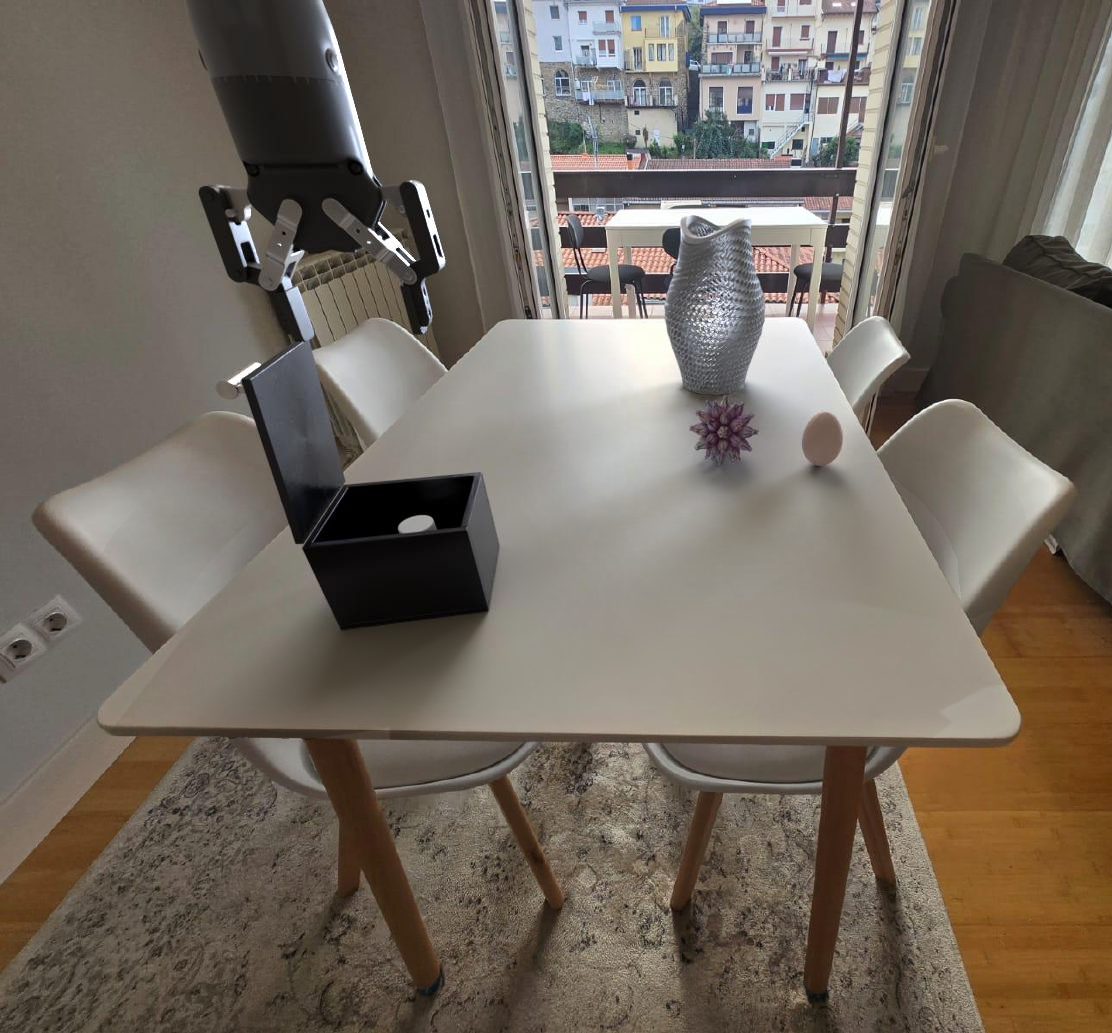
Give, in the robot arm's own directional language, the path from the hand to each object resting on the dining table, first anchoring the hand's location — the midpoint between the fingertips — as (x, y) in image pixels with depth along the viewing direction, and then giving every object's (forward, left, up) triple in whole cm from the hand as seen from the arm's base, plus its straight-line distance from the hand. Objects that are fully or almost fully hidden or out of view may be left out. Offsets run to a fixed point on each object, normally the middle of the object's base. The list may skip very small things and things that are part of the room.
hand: (363, 336), depth 44 cm
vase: (+77, -46, -34) cm, 96 cm away
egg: (+33, -55, -34) cm, 73 cm away
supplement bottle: (+12, +5, -34) cm, 36 cm away
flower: (+38, -39, -34) cm, 64 cm away
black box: (+12, +6, -34) cm, 37 cm away
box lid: (+12, +13, -13) cm, 22 cm away
